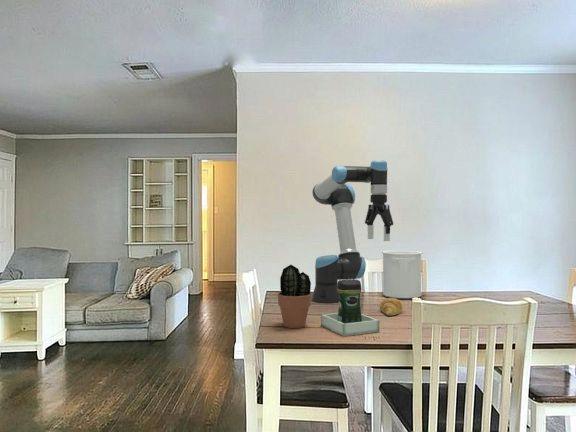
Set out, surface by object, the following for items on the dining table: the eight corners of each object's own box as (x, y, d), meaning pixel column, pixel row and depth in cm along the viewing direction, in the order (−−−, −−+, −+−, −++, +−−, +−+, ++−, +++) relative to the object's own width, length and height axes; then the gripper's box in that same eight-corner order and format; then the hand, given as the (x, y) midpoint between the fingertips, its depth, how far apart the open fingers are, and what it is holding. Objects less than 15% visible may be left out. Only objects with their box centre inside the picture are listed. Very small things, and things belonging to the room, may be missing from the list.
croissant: (395, 325, 207) (404, 310, 206) (375, 313, 209) (383, 298, 208) (398, 314, 227) (406, 300, 226) (379, 303, 230) (387, 289, 229)
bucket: (380, 292, 272) (380, 249, 271) (418, 293, 269) (419, 250, 268) (383, 300, 246) (383, 253, 246) (425, 301, 243) (425, 254, 243)
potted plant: (300, 331, 183) (300, 267, 183) (271, 326, 190) (271, 265, 190) (317, 324, 195) (317, 263, 194) (289, 320, 202) (289, 262, 202)
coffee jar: (358, 323, 192) (358, 277, 192) (364, 328, 184) (364, 280, 184) (335, 324, 191) (335, 278, 190) (340, 329, 183) (340, 281, 183)
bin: (321, 325, 192) (321, 314, 192) (354, 321, 199) (354, 311, 199) (343, 336, 176) (343, 324, 176) (379, 331, 182) (379, 320, 182)
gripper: (357, 194, 228) (357, 238, 228) (387, 193, 204) (386, 242, 205) (371, 194, 230) (370, 238, 231) (401, 193, 207) (401, 241, 208)
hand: (378, 240), depth 218 cm, fingers open, 13 cm apart
